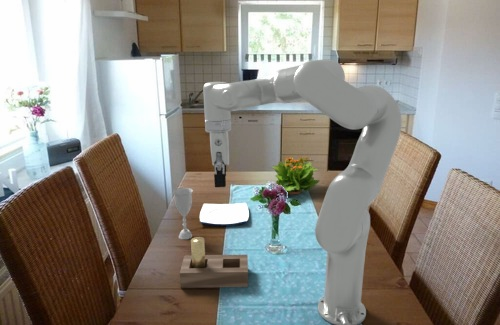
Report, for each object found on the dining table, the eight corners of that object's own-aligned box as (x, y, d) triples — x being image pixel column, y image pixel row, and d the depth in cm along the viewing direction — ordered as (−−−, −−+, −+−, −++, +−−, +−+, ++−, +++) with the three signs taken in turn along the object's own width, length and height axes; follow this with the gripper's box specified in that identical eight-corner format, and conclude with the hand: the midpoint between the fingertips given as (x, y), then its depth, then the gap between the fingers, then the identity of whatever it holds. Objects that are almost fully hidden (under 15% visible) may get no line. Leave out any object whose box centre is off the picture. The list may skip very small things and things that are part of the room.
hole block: (248, 286, 118) (247, 271, 116) (180, 287, 118) (179, 272, 116) (247, 268, 127) (247, 254, 126) (185, 269, 127) (184, 255, 126)
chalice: (186, 230, 154) (184, 186, 149) (198, 235, 150) (196, 190, 145) (171, 237, 148) (168, 192, 143) (184, 242, 144) (181, 196, 139)
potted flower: (259, 186, 201) (259, 153, 196) (299, 179, 211) (300, 147, 206) (284, 203, 180) (284, 166, 175) (327, 195, 189) (329, 159, 184)
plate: (197, 229, 156) (197, 222, 155) (202, 208, 175) (201, 202, 174) (249, 228, 156) (249, 221, 156) (248, 207, 176) (248, 202, 175)
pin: (205, 278, 120) (203, 243, 117) (191, 278, 120) (190, 243, 117) (206, 271, 124) (204, 236, 121) (193, 271, 124) (191, 236, 121)
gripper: (231, 130, 107) (233, 190, 111) (230, 120, 123) (232, 172, 128) (203, 131, 106) (206, 191, 111) (206, 120, 123) (209, 173, 128)
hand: (220, 181), depth 119 cm, fingers open, 9 cm apart
